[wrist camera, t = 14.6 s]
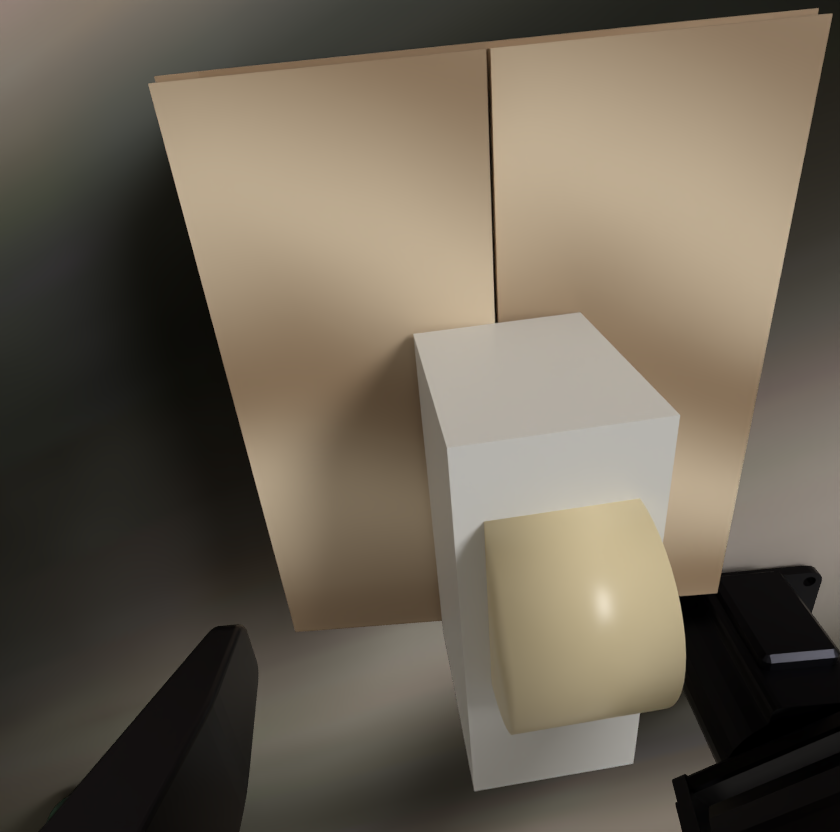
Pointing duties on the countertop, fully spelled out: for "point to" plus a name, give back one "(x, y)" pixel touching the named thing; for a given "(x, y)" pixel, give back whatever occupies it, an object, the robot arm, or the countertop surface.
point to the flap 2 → (660, 223)
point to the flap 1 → (338, 300)
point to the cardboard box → (485, 46)
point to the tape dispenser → (549, 543)
